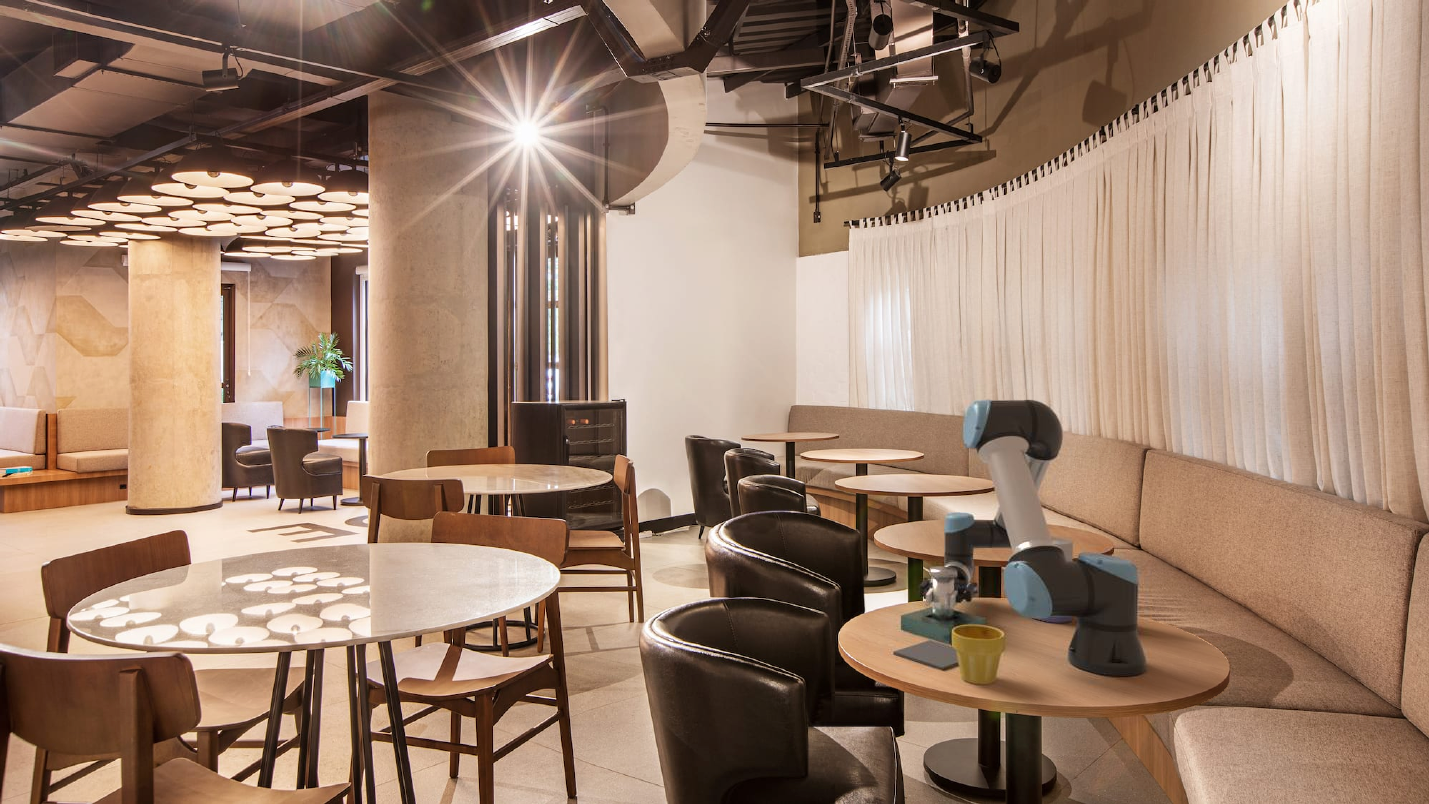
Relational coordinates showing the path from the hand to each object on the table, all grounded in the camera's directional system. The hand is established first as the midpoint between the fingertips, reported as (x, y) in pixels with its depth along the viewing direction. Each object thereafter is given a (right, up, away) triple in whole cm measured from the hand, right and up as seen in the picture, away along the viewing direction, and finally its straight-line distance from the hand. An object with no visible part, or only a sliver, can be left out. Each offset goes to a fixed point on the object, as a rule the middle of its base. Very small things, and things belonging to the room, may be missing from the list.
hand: (939, 601), depth 200 cm
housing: (+2, -8, +5) cm, 10 cm away
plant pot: (+1, -10, -27) cm, 28 cm away
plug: (+2, -8, +5) cm, 10 cm away
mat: (-4, -9, -13) cm, 16 cm away
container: (+32, -8, +17) cm, 37 cm away
